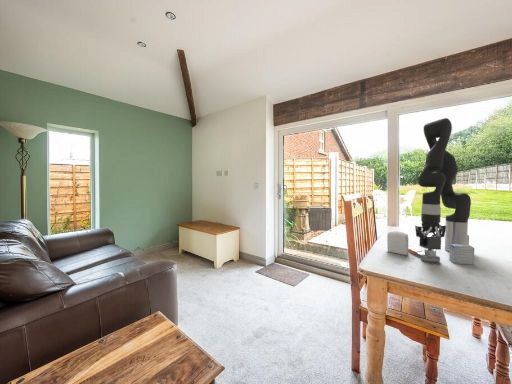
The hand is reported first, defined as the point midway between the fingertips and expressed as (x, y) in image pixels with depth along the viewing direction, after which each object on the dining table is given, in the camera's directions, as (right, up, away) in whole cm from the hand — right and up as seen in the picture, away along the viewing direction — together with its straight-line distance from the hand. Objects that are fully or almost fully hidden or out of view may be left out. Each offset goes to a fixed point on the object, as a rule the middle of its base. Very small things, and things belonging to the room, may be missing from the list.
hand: (429, 245), depth 109 cm
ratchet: (0, -8, +6) cm, 10 cm away
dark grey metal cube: (0, -1, 0) cm, 1 cm away
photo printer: (-8, -8, +13) cm, 17 cm away
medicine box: (+13, -8, -3) cm, 16 cm away
